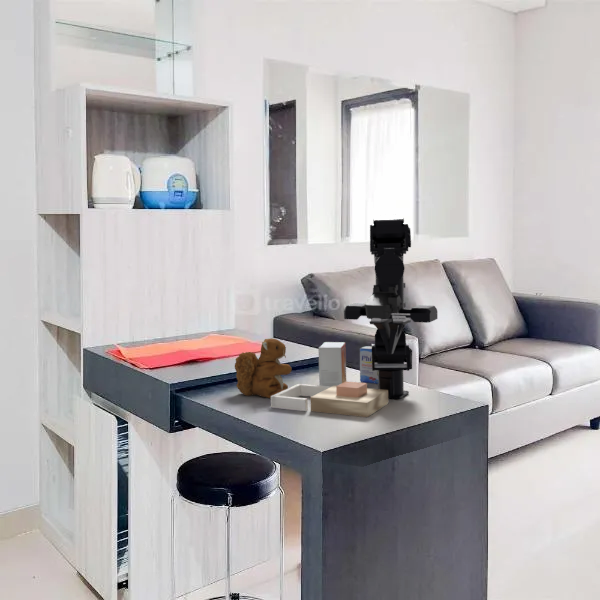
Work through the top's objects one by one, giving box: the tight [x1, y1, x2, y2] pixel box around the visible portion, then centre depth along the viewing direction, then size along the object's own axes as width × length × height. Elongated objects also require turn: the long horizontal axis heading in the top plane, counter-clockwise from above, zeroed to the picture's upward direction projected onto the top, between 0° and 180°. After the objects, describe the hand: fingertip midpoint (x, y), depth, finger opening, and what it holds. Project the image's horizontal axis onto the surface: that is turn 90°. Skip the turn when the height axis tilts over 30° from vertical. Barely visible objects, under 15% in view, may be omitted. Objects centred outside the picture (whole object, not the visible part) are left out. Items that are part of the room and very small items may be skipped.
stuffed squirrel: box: [234, 337, 292, 399], centre depth 172 cm, size 10×14×13 cm
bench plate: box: [309, 385, 389, 418], centre depth 157 cm, size 12×13×3 cm
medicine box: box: [359, 345, 378, 385], centre depth 180 cm, size 8×4×9 cm, turn 56°
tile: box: [336, 380, 368, 397], centre depth 157 cm, size 5×5×2 cm
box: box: [270, 383, 330, 412], centre depth 163 cm, size 13×8×2 cm, turn 152°
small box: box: [317, 341, 347, 387], centre depth 176 cm, size 8×6×10 cm
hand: (390, 353), depth 152 cm, fingers closed
